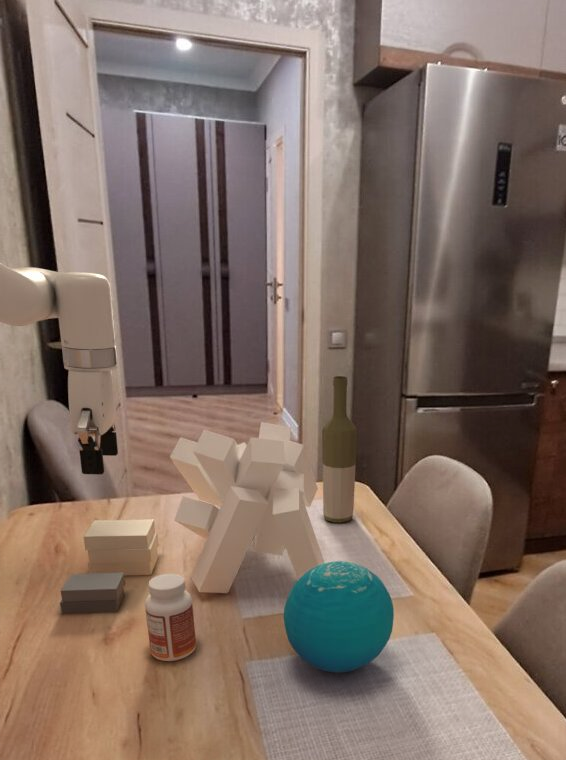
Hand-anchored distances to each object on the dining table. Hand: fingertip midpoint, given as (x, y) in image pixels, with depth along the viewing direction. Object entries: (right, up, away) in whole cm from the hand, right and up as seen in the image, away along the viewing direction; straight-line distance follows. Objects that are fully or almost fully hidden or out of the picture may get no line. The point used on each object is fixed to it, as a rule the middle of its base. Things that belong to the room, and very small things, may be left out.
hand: (100, 464), depth 109 cm
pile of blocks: (+22, -17, +12) cm, 31 cm away
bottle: (+36, -9, +33) cm, 49 cm away
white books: (+1, -17, +8) cm, 19 cm away
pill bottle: (+17, -28, -14) cm, 35 cm away
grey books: (+1, -22, -4) cm, 23 cm away
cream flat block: (+1, -13, +6) cm, 14 cm away
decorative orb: (+40, -29, -15) cm, 52 cm away
